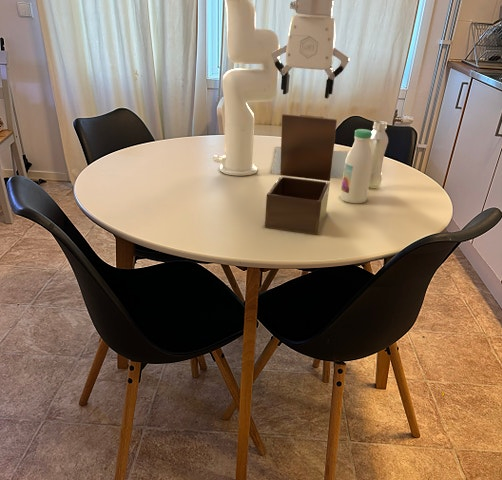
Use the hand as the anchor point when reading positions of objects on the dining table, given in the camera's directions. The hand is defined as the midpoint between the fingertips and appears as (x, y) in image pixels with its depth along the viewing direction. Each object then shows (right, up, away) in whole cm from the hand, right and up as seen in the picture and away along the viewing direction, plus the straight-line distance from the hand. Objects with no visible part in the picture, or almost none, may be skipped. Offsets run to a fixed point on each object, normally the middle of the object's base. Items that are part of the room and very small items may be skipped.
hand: (306, 95), depth 109 cm
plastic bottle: (+25, -12, +44) cm, 52 cm away
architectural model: (+10, +2, +66) cm, 67 cm away
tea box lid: (+2, -8, +14) cm, 16 cm away
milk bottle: (+18, -18, +33) cm, 42 cm away
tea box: (-1, -26, +17) cm, 31 cm away
